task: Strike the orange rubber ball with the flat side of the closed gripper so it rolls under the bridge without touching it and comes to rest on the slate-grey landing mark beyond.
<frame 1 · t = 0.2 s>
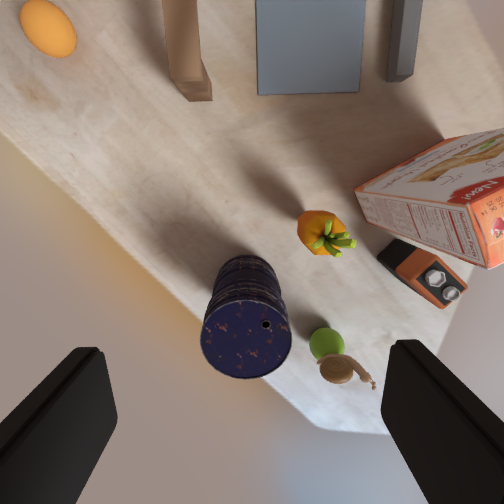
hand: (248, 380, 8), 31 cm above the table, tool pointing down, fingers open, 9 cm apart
snail figurine: (324, 333, 44), on the table
landing mark: (309, 33, 32), on the table
dark blue cylinder: (246, 282, 41), on the table
carrot: (304, 219, 38), on the table
cracker box: (402, 181, 37), on the table
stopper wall: (399, 30, 32), on the table
battery: (398, 260, 41), on the table
bridge: (195, 36, 31), on the table
ball: (49, 30, 29), on the table
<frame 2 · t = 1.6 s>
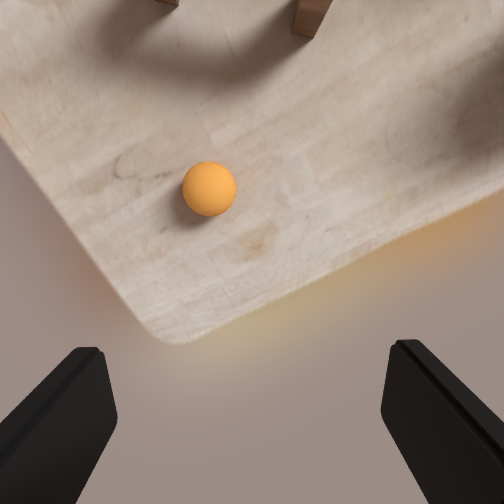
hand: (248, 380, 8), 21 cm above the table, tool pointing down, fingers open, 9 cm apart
ball: (209, 189, 24), on the table
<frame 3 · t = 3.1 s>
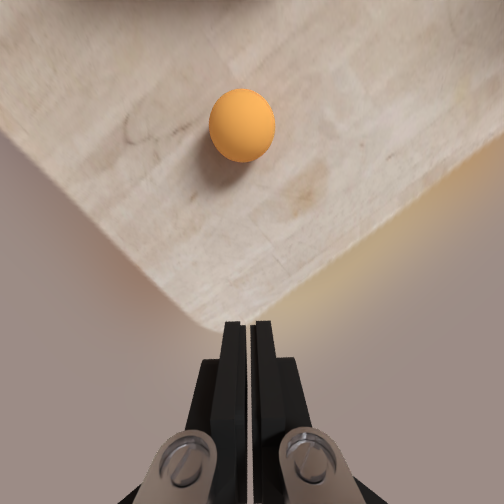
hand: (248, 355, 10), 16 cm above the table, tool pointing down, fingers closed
ball: (242, 127, 20), on the table
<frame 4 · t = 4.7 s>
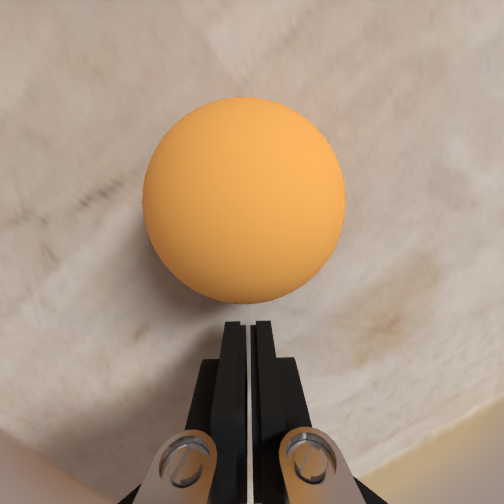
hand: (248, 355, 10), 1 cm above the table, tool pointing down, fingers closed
ball: (245, 207, 7), on the table
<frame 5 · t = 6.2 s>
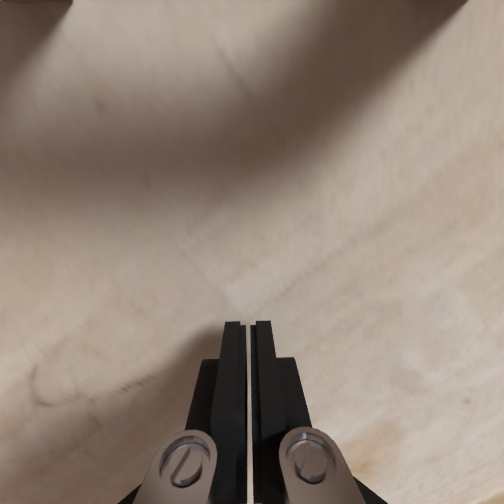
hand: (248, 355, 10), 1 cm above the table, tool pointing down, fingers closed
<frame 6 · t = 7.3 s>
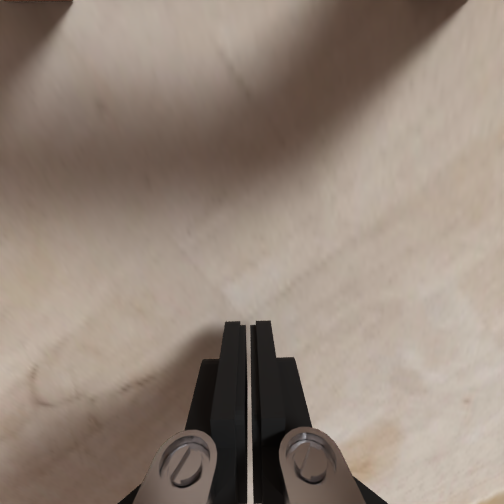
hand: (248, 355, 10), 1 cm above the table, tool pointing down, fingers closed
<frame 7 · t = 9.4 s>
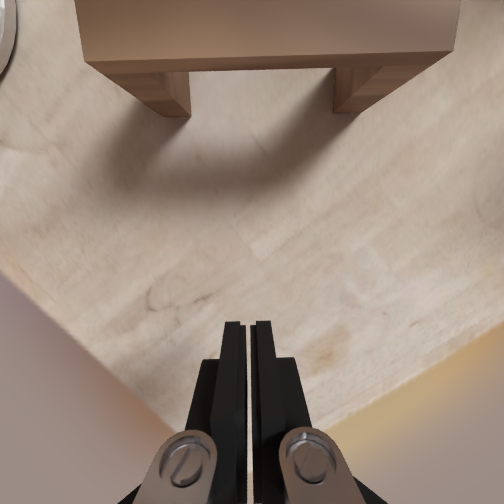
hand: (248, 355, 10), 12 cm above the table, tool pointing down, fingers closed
bridge: (261, 90, 18), on the table
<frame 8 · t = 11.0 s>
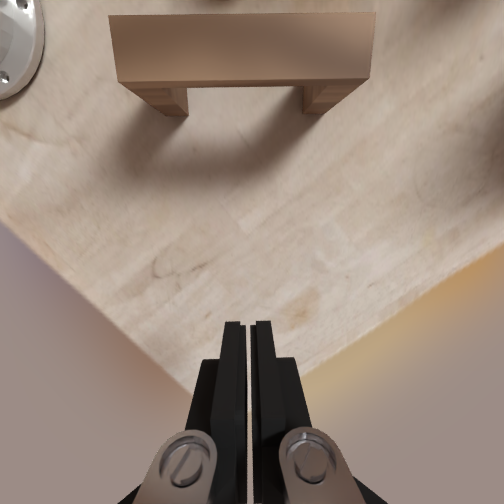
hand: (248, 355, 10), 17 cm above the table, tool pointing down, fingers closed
bridge: (245, 95, 22), on the table
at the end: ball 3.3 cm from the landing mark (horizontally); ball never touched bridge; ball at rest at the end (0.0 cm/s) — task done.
